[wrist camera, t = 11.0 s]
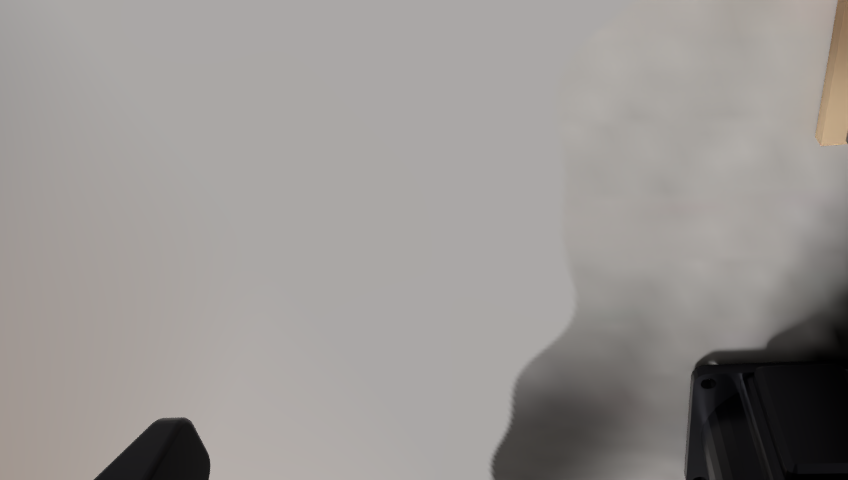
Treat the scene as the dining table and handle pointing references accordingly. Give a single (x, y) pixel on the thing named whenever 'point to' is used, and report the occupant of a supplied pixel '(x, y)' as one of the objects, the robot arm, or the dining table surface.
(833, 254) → the dining table surface
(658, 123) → the dining table surface
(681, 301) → the dining table surface
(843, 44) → the small brown box
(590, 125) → the dining table surface
